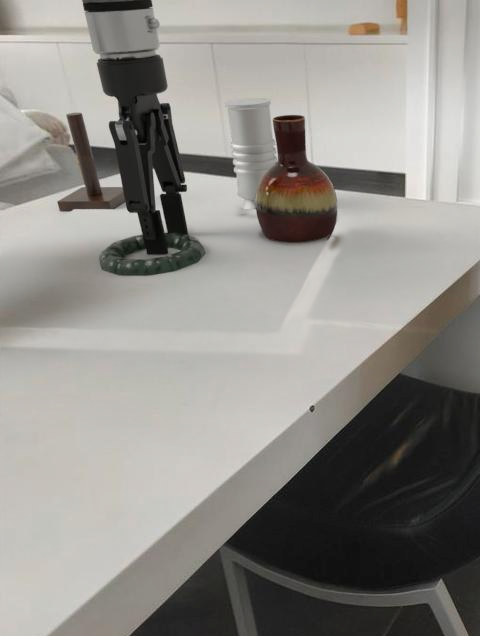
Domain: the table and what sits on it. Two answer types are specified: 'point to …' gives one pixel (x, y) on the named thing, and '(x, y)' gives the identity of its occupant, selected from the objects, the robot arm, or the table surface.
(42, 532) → the table surface
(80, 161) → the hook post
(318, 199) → the vase
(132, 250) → the ring
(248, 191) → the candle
